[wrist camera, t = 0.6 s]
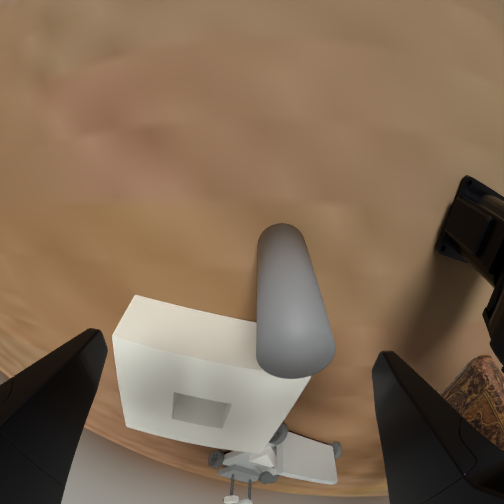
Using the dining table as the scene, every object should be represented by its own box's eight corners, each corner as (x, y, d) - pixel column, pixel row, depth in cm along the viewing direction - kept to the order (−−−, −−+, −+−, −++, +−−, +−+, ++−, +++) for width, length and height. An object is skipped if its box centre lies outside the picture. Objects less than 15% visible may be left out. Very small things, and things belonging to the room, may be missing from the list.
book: (474, 354, 26) (548, 520, 4) (496, 354, 26) (566, 500, 4) (405, 430, 33) (438, 568, 11) (430, 427, 34) (466, 554, 11)
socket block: (303, 331, 24) (311, 377, 19) (260, 416, 30) (260, 453, 25) (135, 294, 22) (112, 335, 18) (138, 391, 29) (126, 426, 24)
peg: (310, 229, 20) (348, 331, 11) (296, 270, 21) (317, 382, 12) (264, 218, 19) (268, 317, 10) (252, 260, 21) (247, 373, 12)
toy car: (255, 521, 31) (192, 509, 28) (256, 473, 40) (199, 455, 37) (349, 498, 25) (285, 490, 22) (340, 439, 34) (282, 417, 31)
